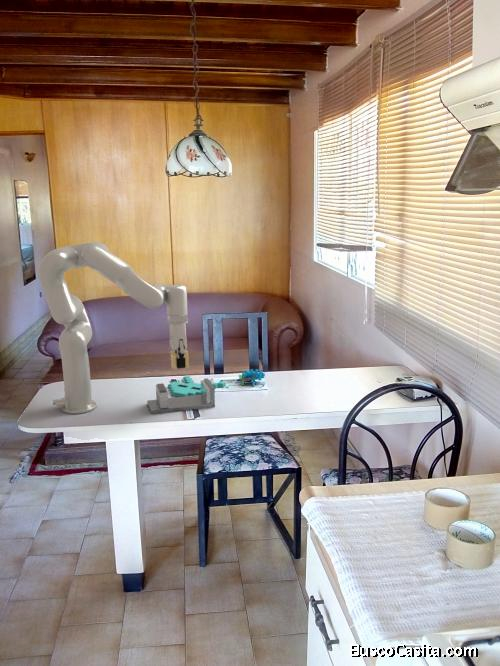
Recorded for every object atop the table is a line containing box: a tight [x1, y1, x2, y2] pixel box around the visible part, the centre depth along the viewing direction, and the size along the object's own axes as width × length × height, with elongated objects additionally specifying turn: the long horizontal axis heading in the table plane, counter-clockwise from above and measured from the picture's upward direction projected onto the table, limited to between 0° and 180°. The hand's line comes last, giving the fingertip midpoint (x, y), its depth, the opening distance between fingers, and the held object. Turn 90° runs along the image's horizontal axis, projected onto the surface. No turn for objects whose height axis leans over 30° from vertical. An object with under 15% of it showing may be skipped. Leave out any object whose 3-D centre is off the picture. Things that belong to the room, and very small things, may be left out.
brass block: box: [170, 349, 190, 370], centre depth 209 cm, size 6×4×6 cm, turn 107°
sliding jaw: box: [155, 382, 169, 409], centre depth 210 cm, size 3×10×7 cm, turn 18°
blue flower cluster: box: [238, 368, 266, 386], centre depth 236 cm, size 11×6×10 cm
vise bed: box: [146, 377, 216, 415], centre depth 212 cm, size 24×11×8 cm, turn 108°
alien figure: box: [167, 375, 227, 398], centre depth 231 cm, size 20×2×20 cm
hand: (180, 365), depth 209 cm, fingers closed on brass block, 4 cm apart
